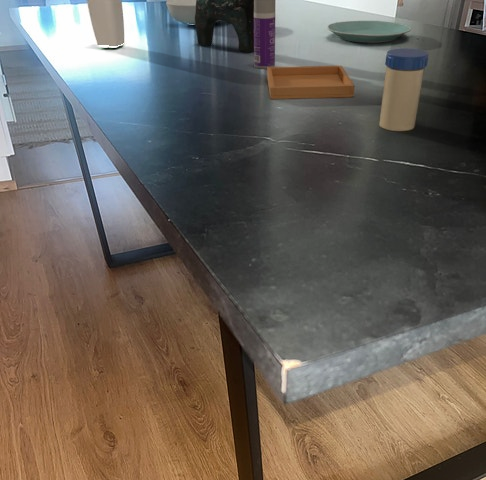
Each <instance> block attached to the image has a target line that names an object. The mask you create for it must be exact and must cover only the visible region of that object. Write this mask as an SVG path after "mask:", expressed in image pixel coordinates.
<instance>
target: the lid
mask: <svg viewBox="0 0 486 480" xmlns="http://www.w3.org/2000/svg"><path fill="white" fill-rule="evenodd" d="M428 61H429V51H426V50H423V49H418V48H405V47H404V48H392V49H389V50H387V52H386V56H385V63H384V65H385V66H386V67H389V68H393V69H399V70H418V69H423V68H427V66H428Z"/></svg>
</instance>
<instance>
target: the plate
mask: <svg viewBox="0 0 486 480" xmlns="http://www.w3.org/2000/svg"><path fill="white" fill-rule="evenodd" d="M326 27H327V30H328V31H330V32H331V33H333V34H334V35H336V36H337V37H338V38H340V39H341V40H344V41H347V42H354V43H355V42H356V43H366V44H368V43H369V44H370V43H371V44H372V43H373V44H376V43H388V42H392V41H395V40H396V39H398V38H400V37H402V36H403V35H405V34H407V33H409V32H411V31H412V27H410V26H409V25H406V24H402V23H398V22H393V21H386V20H385V21H383V20H349V21H348V20H346V21H338V22H333V23H330V24H328V25H327V26H326Z"/></svg>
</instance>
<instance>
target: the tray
mask: <svg viewBox="0 0 486 480" xmlns="http://www.w3.org/2000/svg"><path fill="white" fill-rule="evenodd" d="M266 79H267V86H268V93H269V99H270V100H285V99H287V100H289V99H290V100H291V99H328V98H329V99H330V98H331V99H332V98H334V99H335V98H354V96H355V84H354V82H353V81H352V79H351V77H350V76H349V74H348V73H347V71H346V70H345V68H344V67H343V66H342V65H308V66H307V65H306V66H304V65H303V66H274V67H267V69H266Z"/></svg>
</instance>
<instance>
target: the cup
mask: <svg viewBox="0 0 486 480" xmlns="http://www.w3.org/2000/svg"><path fill="white" fill-rule="evenodd" d="M86 2H87V3H86V4H87V9H88V13H89V19H90V22H91V23H90V24H91V27H92V30H93V34H94V38H95V41H96V43H97V46H98V45H109V46H118V45H121V44H123V43H124V44H125V20H124V11H123V10H124V9H123V1H122V0H86ZM124 44H123V45H124Z"/></svg>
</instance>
